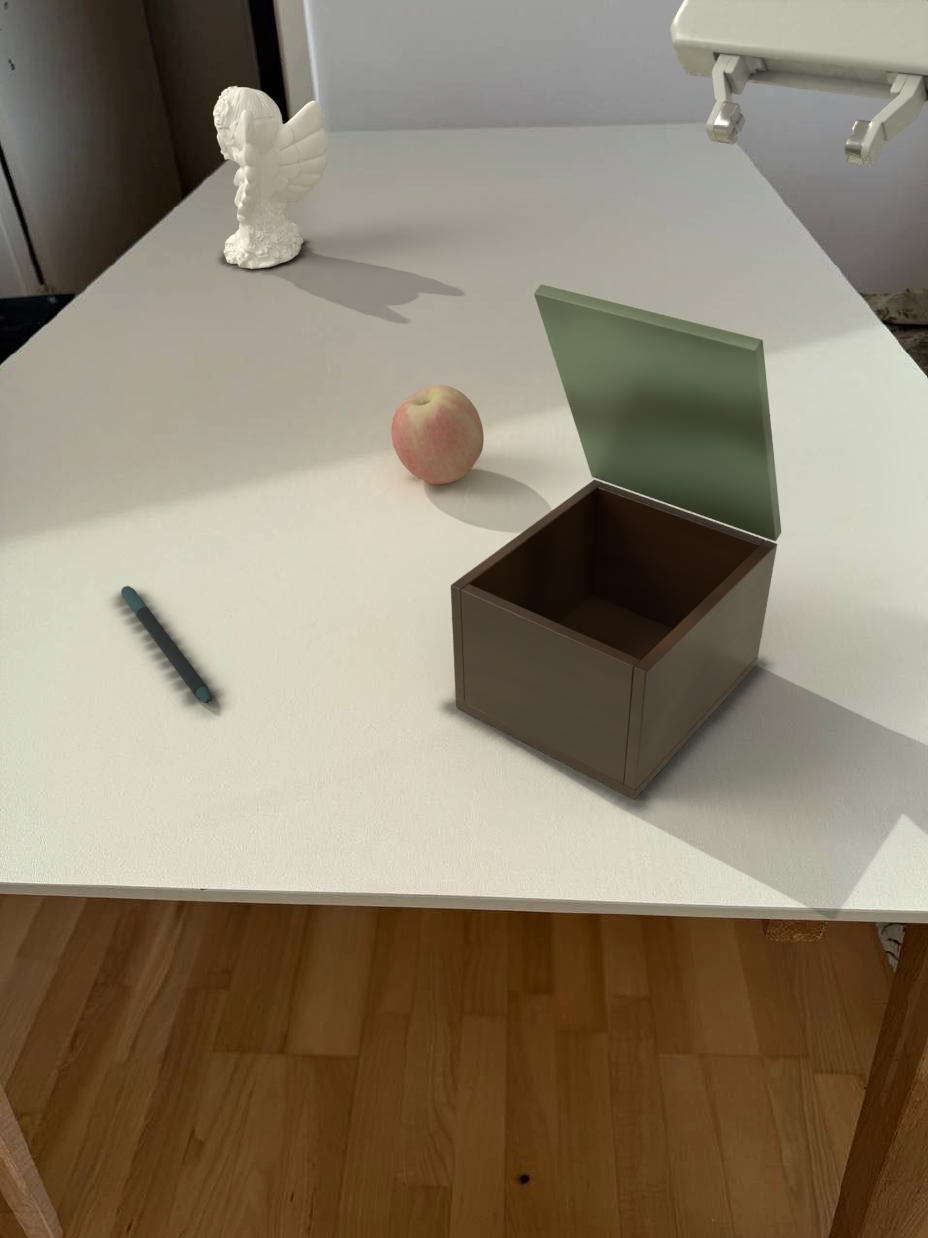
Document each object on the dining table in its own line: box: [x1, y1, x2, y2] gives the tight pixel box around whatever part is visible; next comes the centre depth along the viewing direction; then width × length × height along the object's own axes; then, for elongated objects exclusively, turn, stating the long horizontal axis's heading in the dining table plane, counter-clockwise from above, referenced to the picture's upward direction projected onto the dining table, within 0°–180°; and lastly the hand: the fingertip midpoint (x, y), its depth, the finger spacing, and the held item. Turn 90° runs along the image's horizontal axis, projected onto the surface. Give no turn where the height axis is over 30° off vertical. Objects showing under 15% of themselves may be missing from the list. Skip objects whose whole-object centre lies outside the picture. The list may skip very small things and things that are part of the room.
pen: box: [120, 585, 212, 705], centre depth 77 cm, size 1×16×1 cm, turn 34°
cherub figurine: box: [212, 85, 330, 270], centre depth 137 cm, size 13×12×20 cm
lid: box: [533, 284, 782, 542], centre depth 65 cm, size 17×14×1 cm
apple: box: [390, 384, 485, 485], centre depth 93 cm, size 8×8×8 cm
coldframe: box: [450, 479, 778, 800], centre depth 70 cm, size 16×14×10 cm
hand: (786, 147), depth 64 cm, fingers open, 7 cm apart
